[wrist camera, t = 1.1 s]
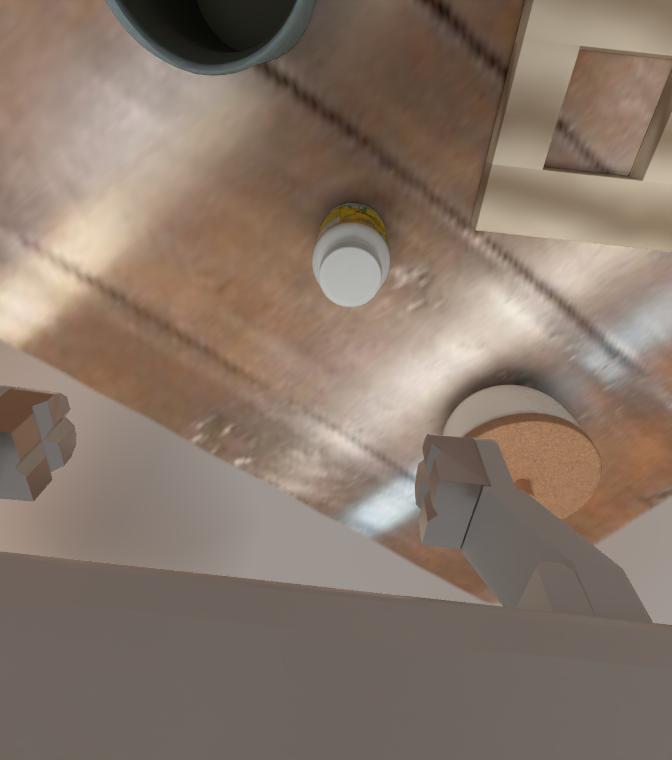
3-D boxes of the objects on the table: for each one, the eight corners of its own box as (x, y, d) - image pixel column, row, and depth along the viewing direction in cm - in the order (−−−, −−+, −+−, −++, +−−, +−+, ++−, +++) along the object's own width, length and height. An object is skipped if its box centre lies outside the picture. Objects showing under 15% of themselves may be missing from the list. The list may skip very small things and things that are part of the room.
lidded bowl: (451, 351, 42) (475, 425, 33) (584, 373, 43) (645, 453, 33) (417, 453, 49) (428, 539, 40) (532, 471, 49) (570, 561, 40)
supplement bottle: (306, 234, 37) (289, 275, 29) (355, 185, 35) (351, 215, 27) (351, 281, 39) (347, 332, 31) (400, 238, 37) (410, 280, 29)
